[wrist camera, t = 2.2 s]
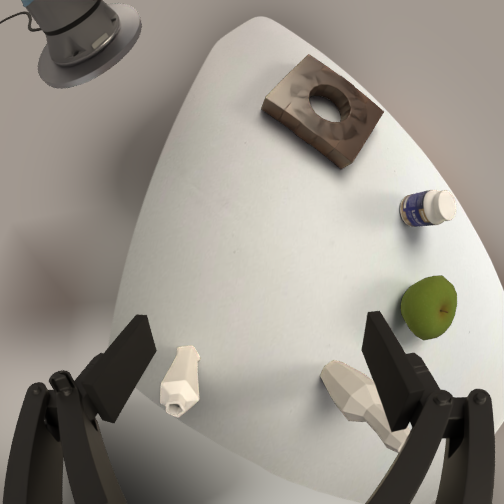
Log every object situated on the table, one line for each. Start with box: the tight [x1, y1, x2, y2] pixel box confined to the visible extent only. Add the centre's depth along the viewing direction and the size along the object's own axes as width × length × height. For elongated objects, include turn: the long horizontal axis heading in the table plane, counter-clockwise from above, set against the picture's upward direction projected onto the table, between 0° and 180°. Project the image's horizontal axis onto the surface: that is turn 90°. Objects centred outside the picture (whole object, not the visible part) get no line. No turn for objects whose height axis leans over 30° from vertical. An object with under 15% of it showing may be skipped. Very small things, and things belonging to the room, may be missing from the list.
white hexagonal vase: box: [160, 345, 201, 417], centre depth 31 cm, size 5×4×15 cm
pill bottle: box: [400, 190, 456, 227], centre depth 38 cm, size 6×6×10 cm
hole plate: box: [261, 54, 384, 169], centre depth 39 cm, size 16×13×4 cm
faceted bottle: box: [320, 360, 410, 453], centre depth 31 cm, size 6×6×22 cm
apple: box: [401, 275, 457, 340], centre depth 39 cm, size 11×10×10 cm
